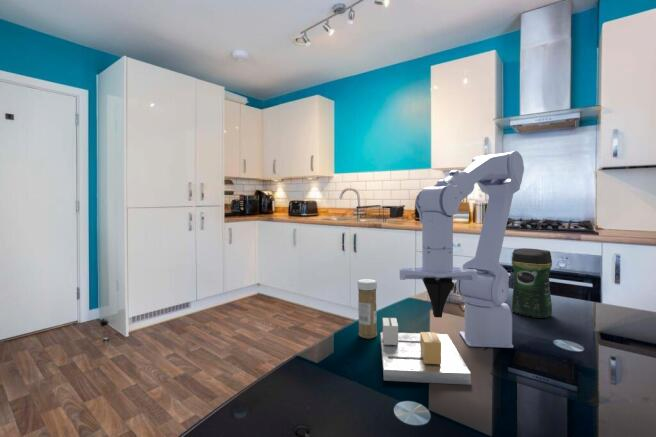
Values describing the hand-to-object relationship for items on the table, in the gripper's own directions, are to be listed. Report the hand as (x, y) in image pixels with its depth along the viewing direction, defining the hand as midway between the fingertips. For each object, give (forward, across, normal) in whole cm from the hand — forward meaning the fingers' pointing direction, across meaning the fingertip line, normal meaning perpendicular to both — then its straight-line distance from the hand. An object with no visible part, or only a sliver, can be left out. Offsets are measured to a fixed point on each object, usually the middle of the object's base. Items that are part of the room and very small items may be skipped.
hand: (437, 315), depth 68 cm
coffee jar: (+10, +31, +34) cm, 47 cm away
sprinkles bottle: (+10, -14, +13) cm, 21 cm away
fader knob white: (+7, -9, +5) cm, 12 cm away
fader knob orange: (+7, -2, -3) cm, 8 cm away
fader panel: (+9, -3, +1) cm, 10 cm away
